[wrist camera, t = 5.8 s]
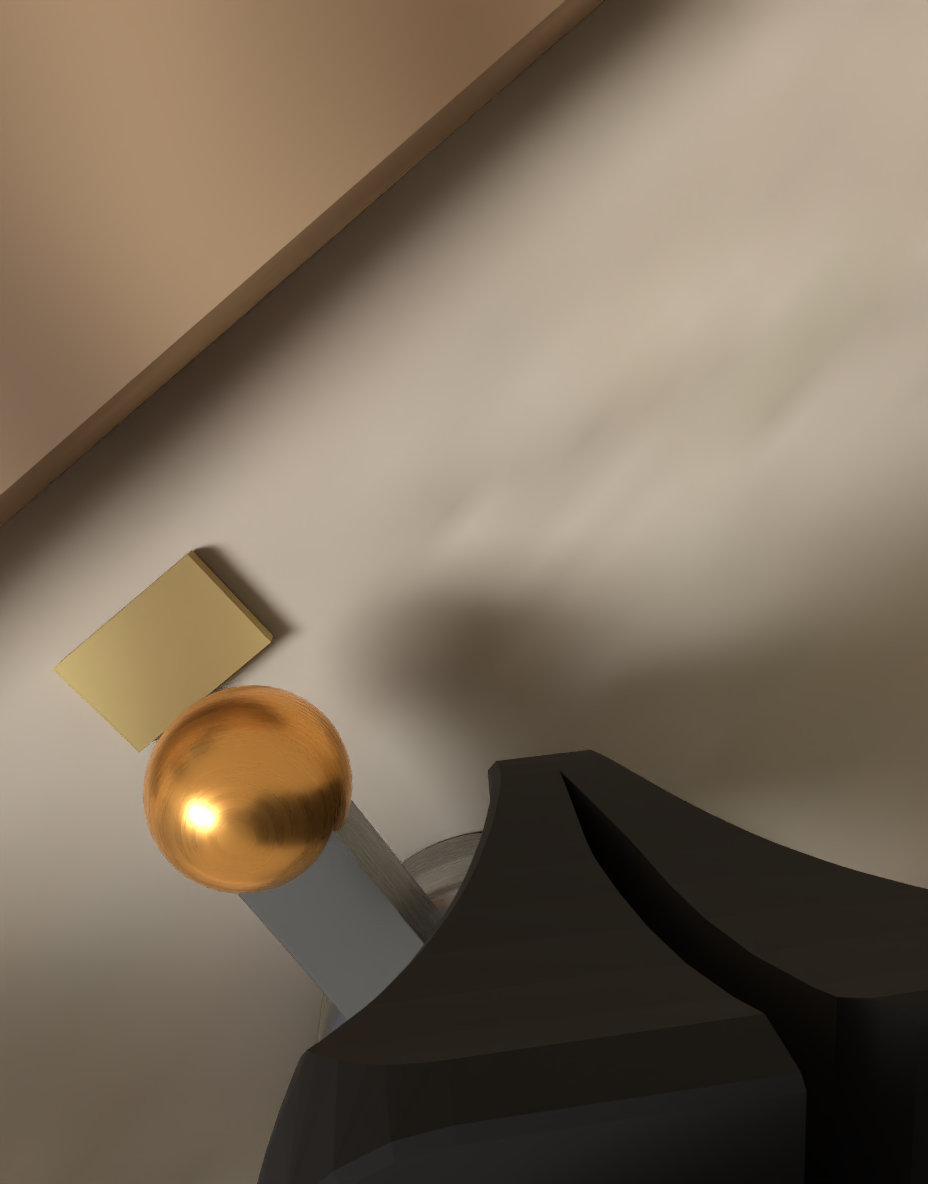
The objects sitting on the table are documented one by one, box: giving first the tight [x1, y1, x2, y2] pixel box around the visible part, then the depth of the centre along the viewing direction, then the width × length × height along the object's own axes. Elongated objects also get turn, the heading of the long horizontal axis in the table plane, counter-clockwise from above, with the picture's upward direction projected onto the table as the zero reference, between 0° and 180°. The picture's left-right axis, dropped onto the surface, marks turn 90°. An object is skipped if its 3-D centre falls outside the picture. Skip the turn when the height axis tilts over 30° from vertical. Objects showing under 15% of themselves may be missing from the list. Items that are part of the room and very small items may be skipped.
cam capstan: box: [143, 685, 482, 1042], centre depth 12 cm, size 13×14×4 cm
